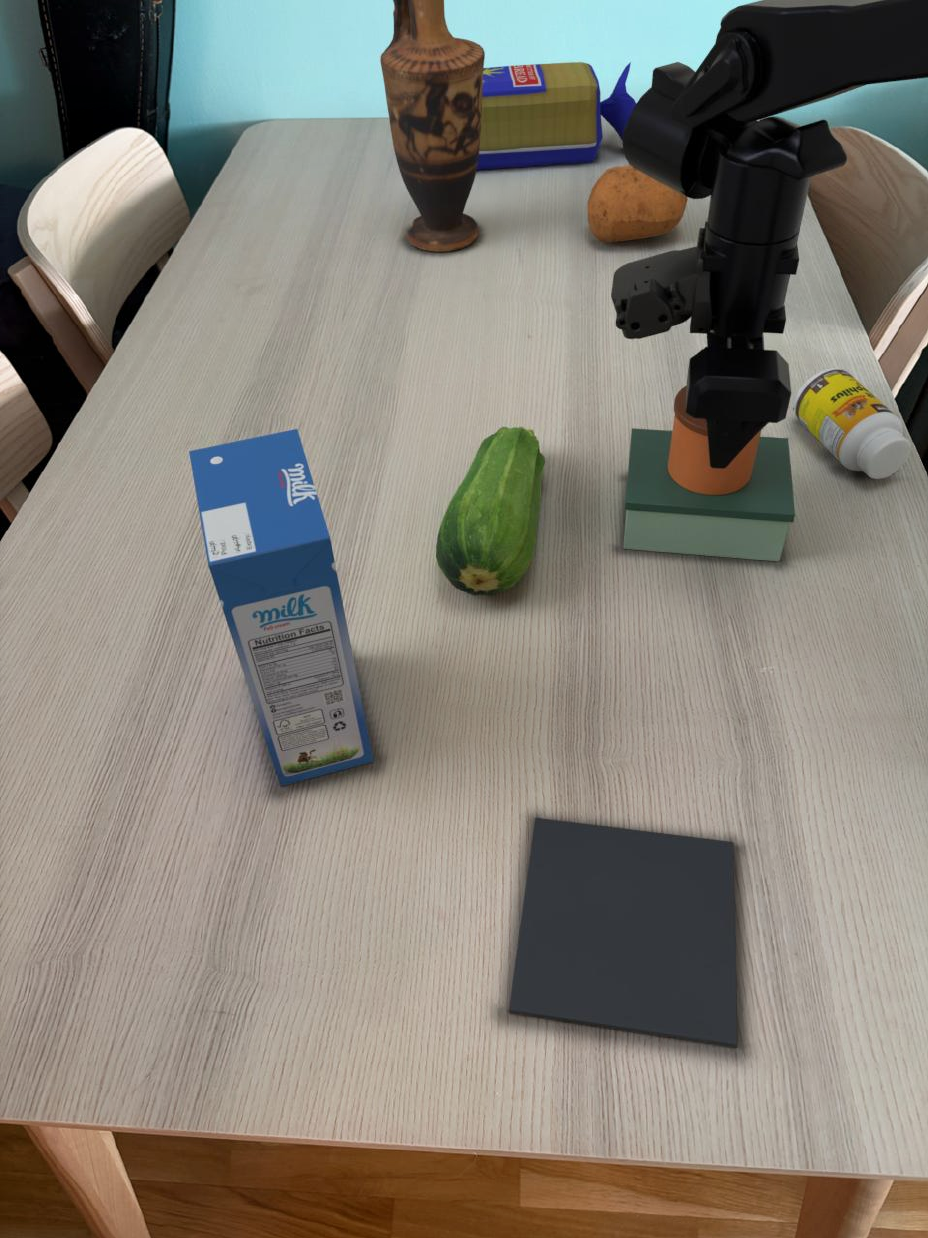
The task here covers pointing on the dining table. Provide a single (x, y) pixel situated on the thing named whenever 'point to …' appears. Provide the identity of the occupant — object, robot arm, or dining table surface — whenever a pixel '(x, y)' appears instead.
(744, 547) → the storage box
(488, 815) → the dining table surface
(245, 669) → the milk carton
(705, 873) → the mat
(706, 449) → the round tub
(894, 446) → the supplement bottle
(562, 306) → the dining table surface
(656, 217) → the potato
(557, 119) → the bread
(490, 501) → the vegetable
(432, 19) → the vase
